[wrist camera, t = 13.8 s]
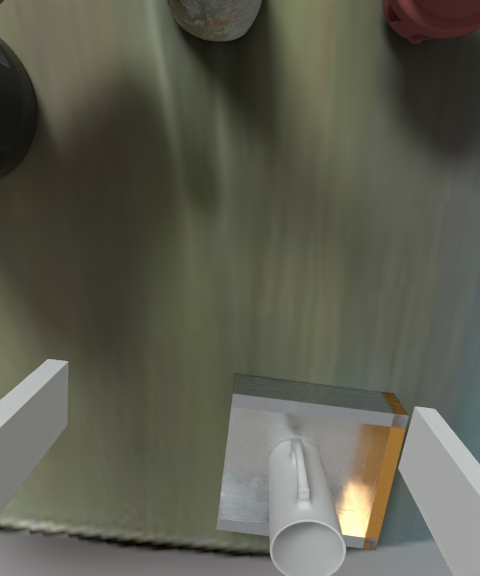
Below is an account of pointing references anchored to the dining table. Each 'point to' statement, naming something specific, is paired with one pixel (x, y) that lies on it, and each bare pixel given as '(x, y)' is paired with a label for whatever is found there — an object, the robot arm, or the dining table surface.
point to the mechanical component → (432, 18)
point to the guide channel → (324, 437)
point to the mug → (302, 513)
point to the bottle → (215, 17)
